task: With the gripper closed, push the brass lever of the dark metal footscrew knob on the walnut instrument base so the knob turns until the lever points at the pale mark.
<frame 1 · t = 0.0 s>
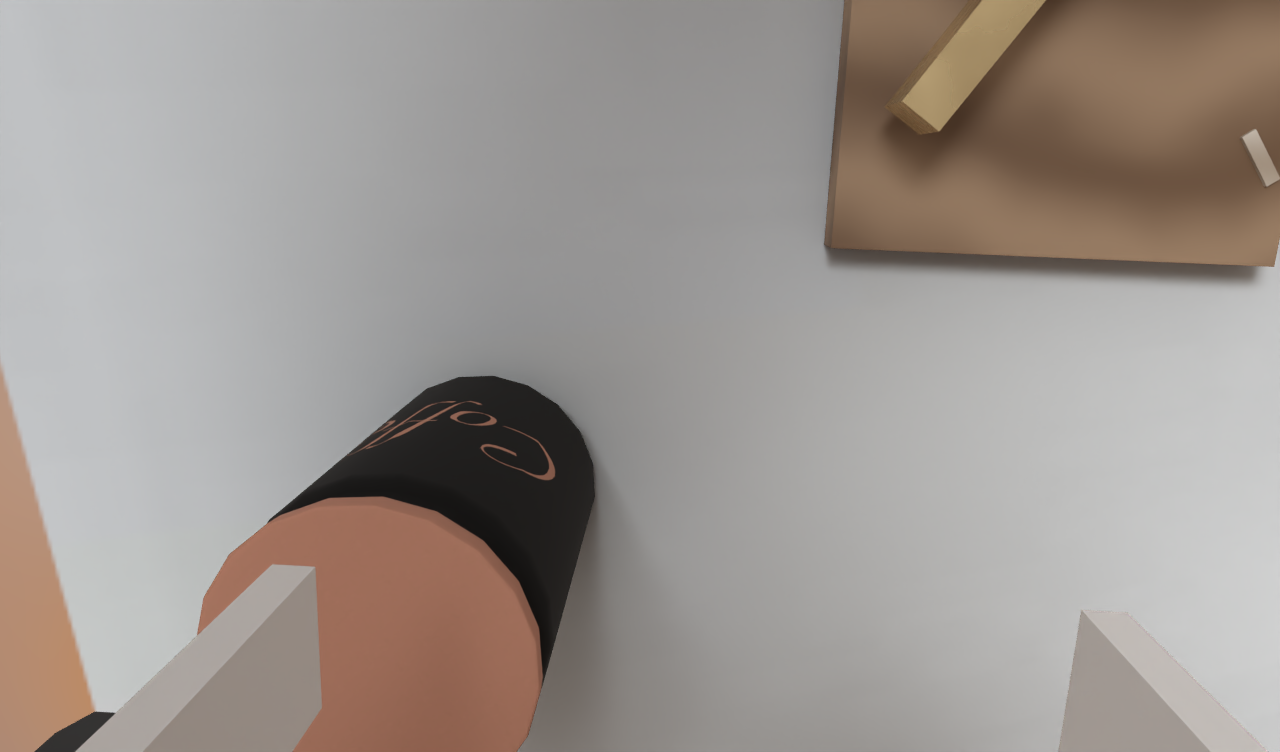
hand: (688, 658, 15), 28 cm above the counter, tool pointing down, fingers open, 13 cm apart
coffee jar: (491, 472, 45), on the counter
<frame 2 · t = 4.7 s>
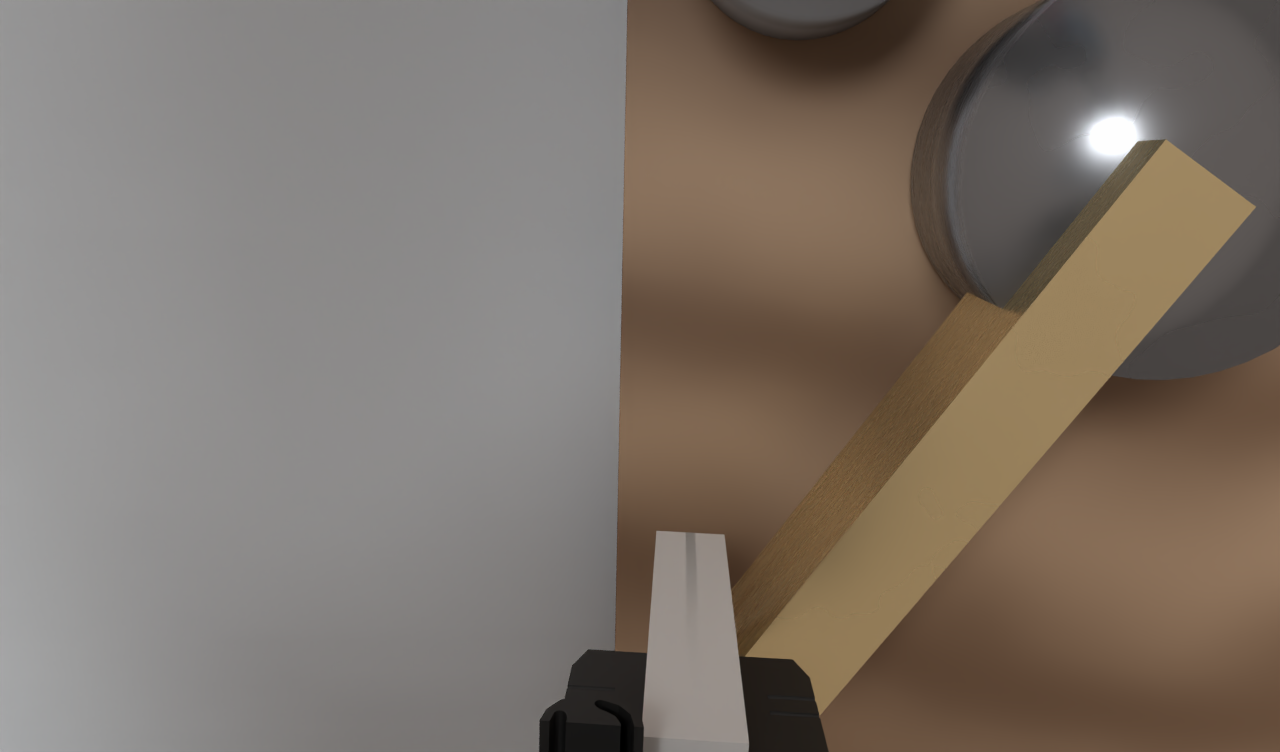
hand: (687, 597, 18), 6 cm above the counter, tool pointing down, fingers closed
footscrew knob: (968, 381, 17), point 5 cm above the counter, hinge at -33.0°, touching gripper
instrument base: (1021, 341, 22), on the counter
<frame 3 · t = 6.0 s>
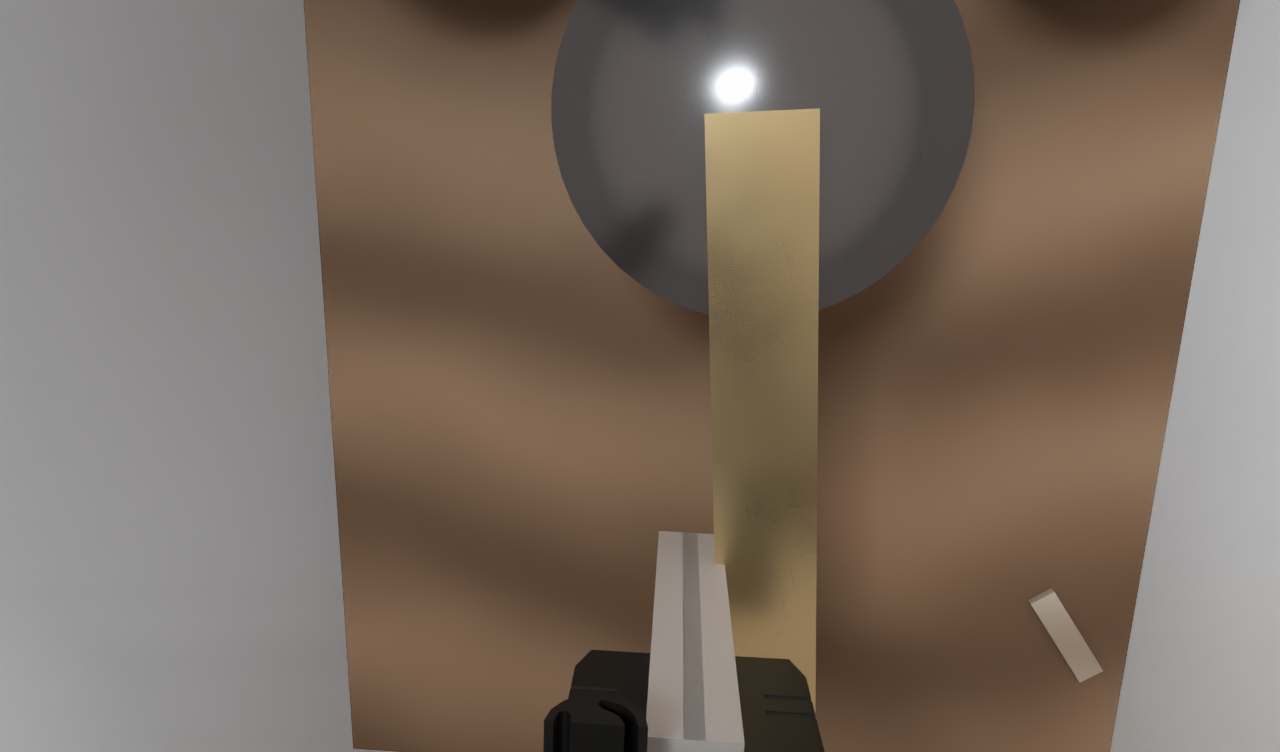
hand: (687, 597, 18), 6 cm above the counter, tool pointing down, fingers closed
footscrew knob: (757, 369, 17), point 5 cm above the counter, hinge at 3.6°, touching gripper
instrument base: (736, 294, 22), on the counter
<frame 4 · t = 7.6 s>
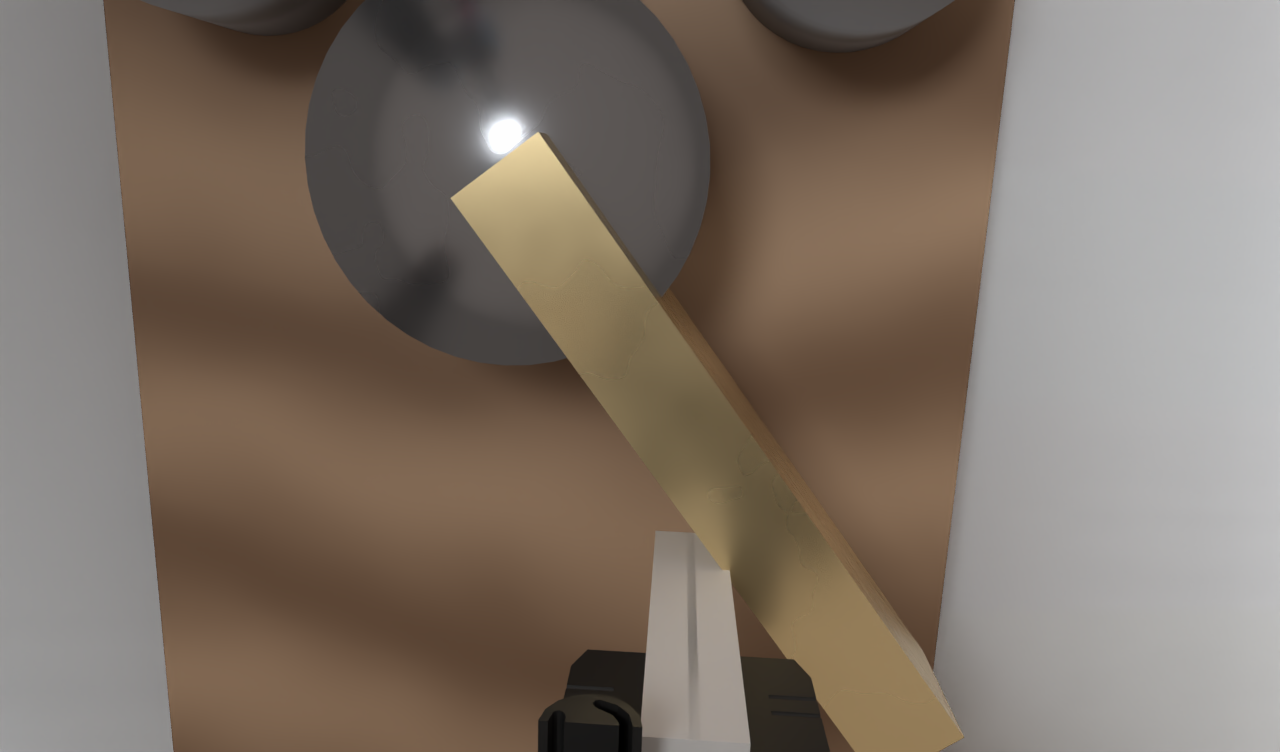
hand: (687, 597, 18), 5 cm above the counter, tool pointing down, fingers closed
footscrew knob: (666, 370, 17), point 5 cm above the counter, hinge at 37.3°, touching gripper
instrument base: (555, 332, 22), on the counter
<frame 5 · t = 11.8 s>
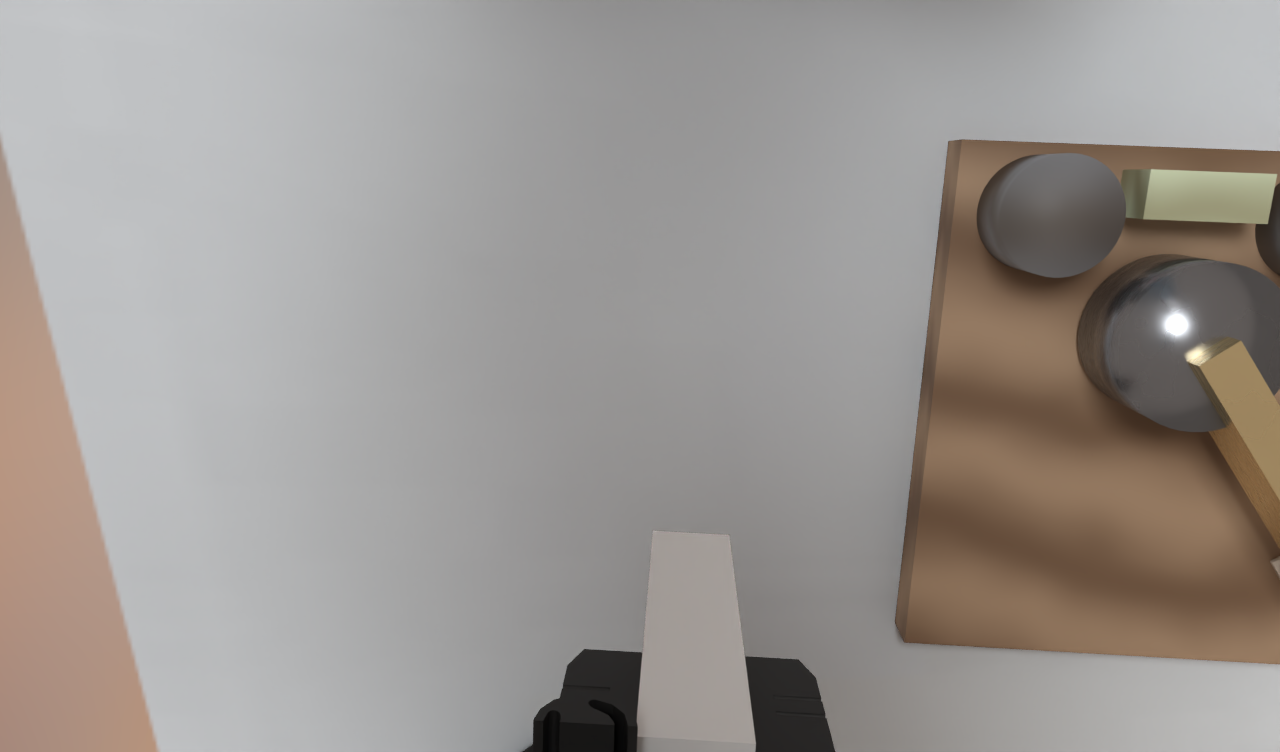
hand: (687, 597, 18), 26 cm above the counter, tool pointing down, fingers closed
footscrew knob: (1241, 431, 38), point 5 cm above the counter, hinge at 37.6°
instrument base: (1119, 406, 43), on the counter
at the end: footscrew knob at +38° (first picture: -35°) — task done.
